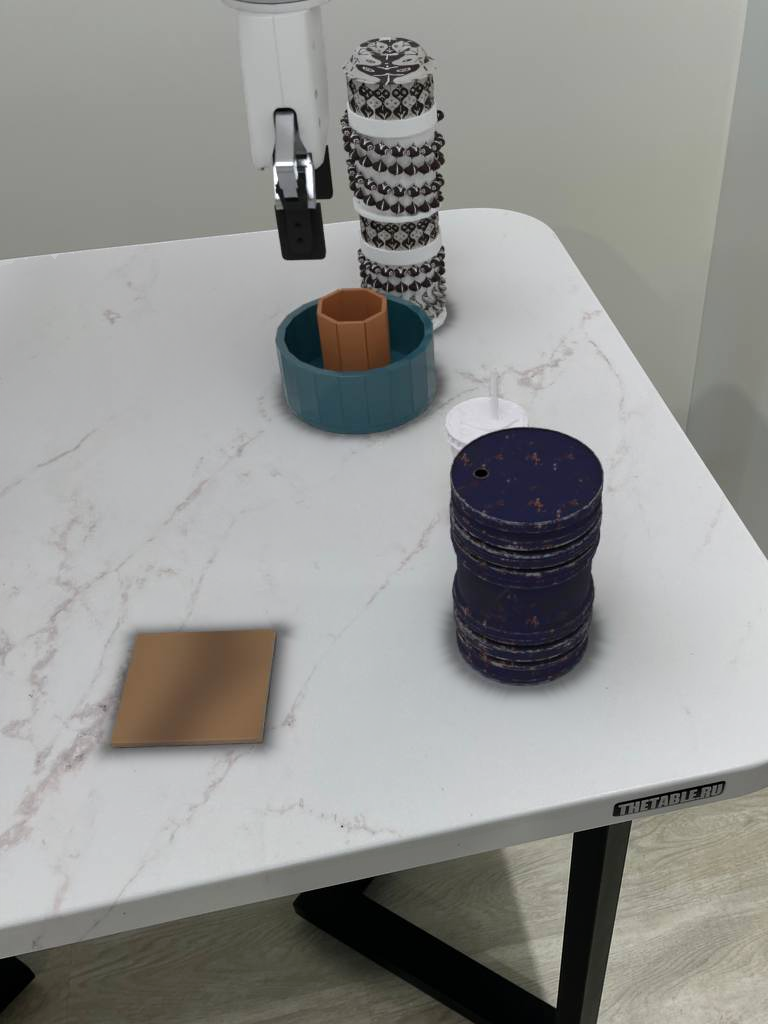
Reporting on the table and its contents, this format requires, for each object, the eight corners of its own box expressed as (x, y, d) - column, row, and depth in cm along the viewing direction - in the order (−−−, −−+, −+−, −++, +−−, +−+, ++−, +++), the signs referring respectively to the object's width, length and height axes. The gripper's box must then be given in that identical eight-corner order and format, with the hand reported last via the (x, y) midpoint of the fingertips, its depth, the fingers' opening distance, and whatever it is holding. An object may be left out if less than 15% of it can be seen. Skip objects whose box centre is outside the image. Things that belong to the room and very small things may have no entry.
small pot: (326, 403, 95) (315, 324, 90) (329, 366, 99) (319, 288, 94) (391, 401, 96) (385, 322, 90) (393, 364, 100) (386, 286, 94)
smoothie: (527, 545, 83) (533, 395, 73) (447, 546, 83) (441, 396, 73) (525, 493, 87) (529, 345, 77) (448, 494, 87) (442, 346, 77)
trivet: (111, 748, 70) (109, 743, 70) (139, 637, 77) (137, 633, 76) (262, 742, 70) (260, 738, 70) (276, 633, 77) (275, 628, 76)
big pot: (278, 436, 93) (268, 378, 89) (292, 350, 103) (283, 293, 98) (436, 432, 93) (433, 373, 89) (435, 346, 103) (432, 289, 98)
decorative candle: (365, 291, 110) (339, 27, 92) (453, 292, 110) (445, 28, 91) (354, 338, 104) (325, 66, 85) (447, 339, 104) (438, 66, 85)
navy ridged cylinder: (585, 587, 80) (600, 425, 69) (595, 686, 73) (613, 524, 62) (454, 588, 80) (448, 426, 69) (452, 687, 73) (445, 525, 62)
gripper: (232, -67, 73) (270, 178, 86) (198, 15, 61) (247, 285, 74) (340, -69, 73) (362, 176, 86) (326, 12, 62) (354, 282, 74)
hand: (309, 226), depth 80 cm, fingers open, 9 cm apart
